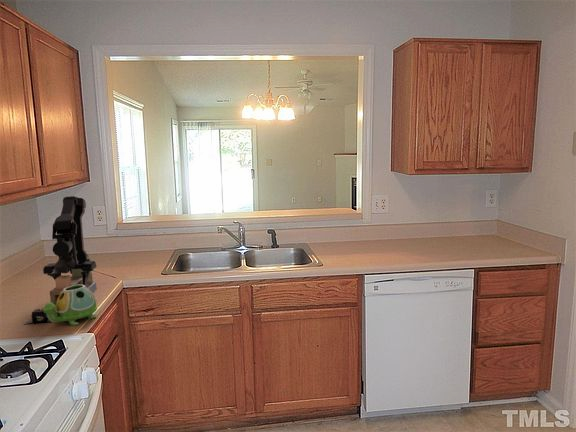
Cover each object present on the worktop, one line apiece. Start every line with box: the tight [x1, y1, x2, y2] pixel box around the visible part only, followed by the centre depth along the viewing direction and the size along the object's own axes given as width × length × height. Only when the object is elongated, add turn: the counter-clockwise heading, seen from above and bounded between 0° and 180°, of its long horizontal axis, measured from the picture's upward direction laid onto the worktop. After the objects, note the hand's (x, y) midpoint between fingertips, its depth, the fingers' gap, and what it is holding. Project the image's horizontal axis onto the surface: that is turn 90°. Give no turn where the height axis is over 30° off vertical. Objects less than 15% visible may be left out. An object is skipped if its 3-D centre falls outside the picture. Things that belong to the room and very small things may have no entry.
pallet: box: [49, 271, 94, 304], centre depth 174 cm, size 24×6×5 cm, turn 4°
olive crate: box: [71, 269, 82, 277], centre depth 180 cm, size 4×4×4 cm
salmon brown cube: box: [54, 274, 72, 289], centre depth 166 cm, size 4×4×4 cm
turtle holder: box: [42, 284, 98, 326], centre depth 152 cm, size 12×18×12 cm
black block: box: [22, 308, 53, 326], centre depth 154 cm, size 12×7×5 cm, turn 95°
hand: (72, 287), depth 174 cm, fingers open, 9 cm apart
